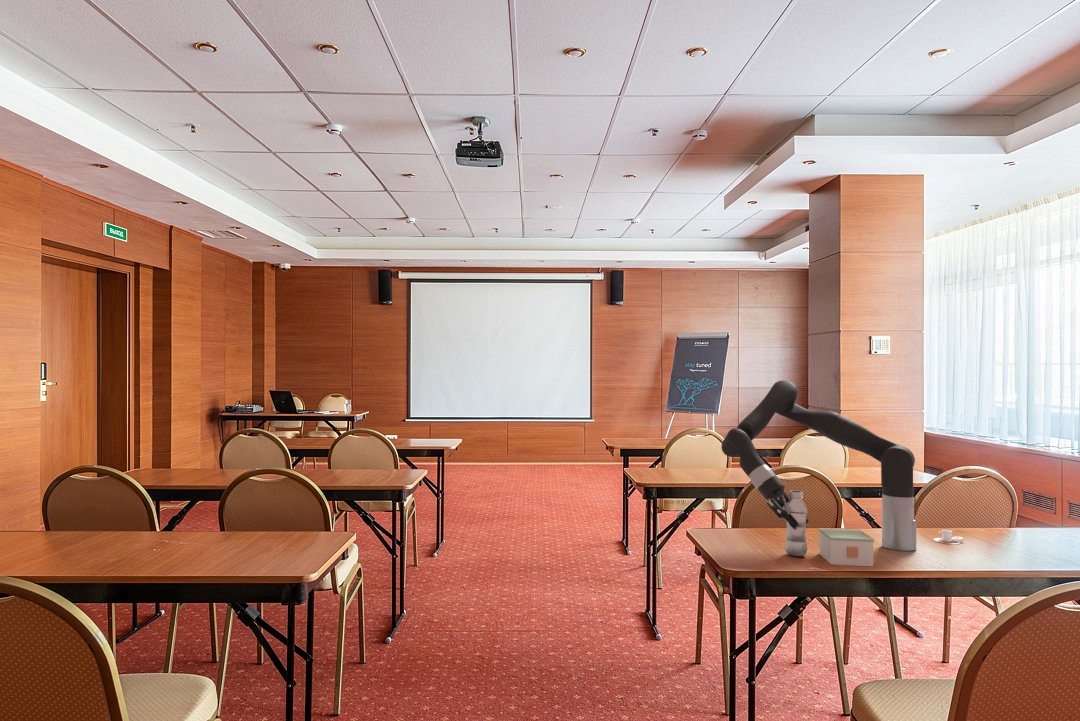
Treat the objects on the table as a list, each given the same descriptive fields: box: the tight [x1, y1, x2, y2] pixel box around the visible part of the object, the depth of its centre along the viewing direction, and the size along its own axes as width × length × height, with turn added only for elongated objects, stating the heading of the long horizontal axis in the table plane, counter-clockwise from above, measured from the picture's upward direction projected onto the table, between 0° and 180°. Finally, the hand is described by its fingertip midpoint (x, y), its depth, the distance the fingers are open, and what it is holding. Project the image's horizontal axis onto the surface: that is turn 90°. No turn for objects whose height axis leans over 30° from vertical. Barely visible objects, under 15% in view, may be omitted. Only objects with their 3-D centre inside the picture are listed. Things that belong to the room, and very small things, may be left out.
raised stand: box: [818, 527, 875, 567], centre depth 205 cm, size 12×13×8 cm
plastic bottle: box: [784, 489, 809, 557], centre depth 209 cm, size 6×7×20 cm
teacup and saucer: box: [933, 529, 965, 545], centre depth 229 cm, size 9×8×4 cm
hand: (801, 525), depth 208 cm, fingers closed on plastic bottle, 6 cm apart
